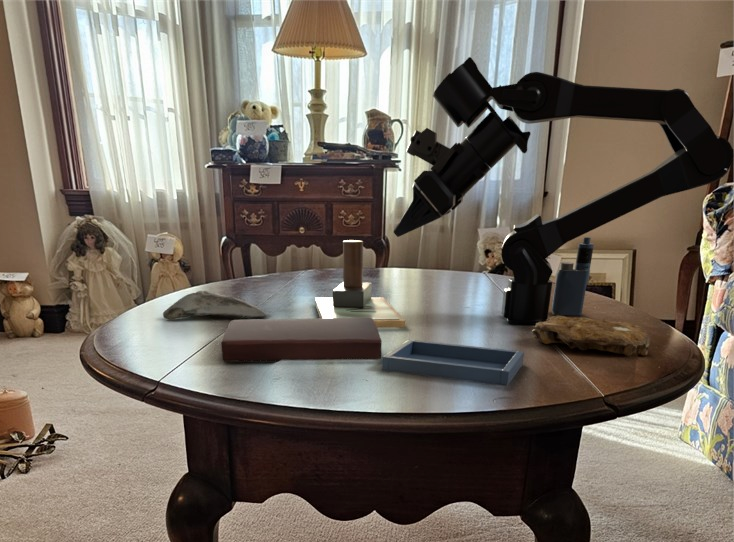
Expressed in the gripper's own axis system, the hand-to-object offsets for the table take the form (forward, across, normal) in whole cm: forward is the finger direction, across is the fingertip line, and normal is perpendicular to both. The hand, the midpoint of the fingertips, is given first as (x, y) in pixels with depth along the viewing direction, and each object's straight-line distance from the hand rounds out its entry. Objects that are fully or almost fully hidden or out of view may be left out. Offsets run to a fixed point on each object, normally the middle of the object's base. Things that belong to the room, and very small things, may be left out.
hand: (400, 232), depth 103 cm
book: (+15, +28, +4) cm, 32 cm away
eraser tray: (0, +32, +18) cm, 37 cm away
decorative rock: (-11, +17, +29) cm, 36 cm away
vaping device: (-11, -7, +28) cm, 31 cm away
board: (+13, +5, +5) cm, 15 cm away
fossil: (+28, +9, -10) cm, 32 cm away
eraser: (+13, 0, +2) cm, 13 cm away
